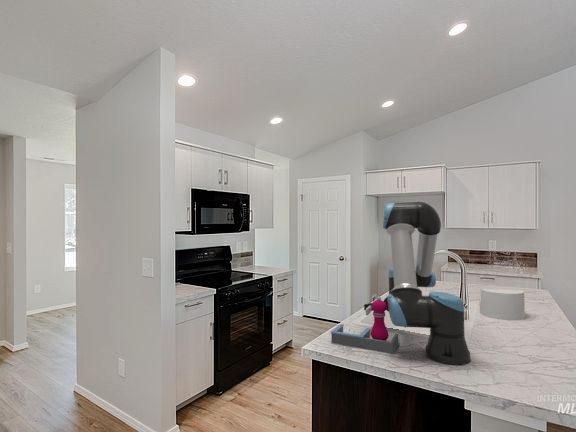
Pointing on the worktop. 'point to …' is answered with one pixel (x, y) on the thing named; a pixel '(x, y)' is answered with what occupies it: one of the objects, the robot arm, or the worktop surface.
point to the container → (502, 304)
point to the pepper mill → (379, 320)
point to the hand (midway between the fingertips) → (382, 314)
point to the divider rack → (363, 340)
